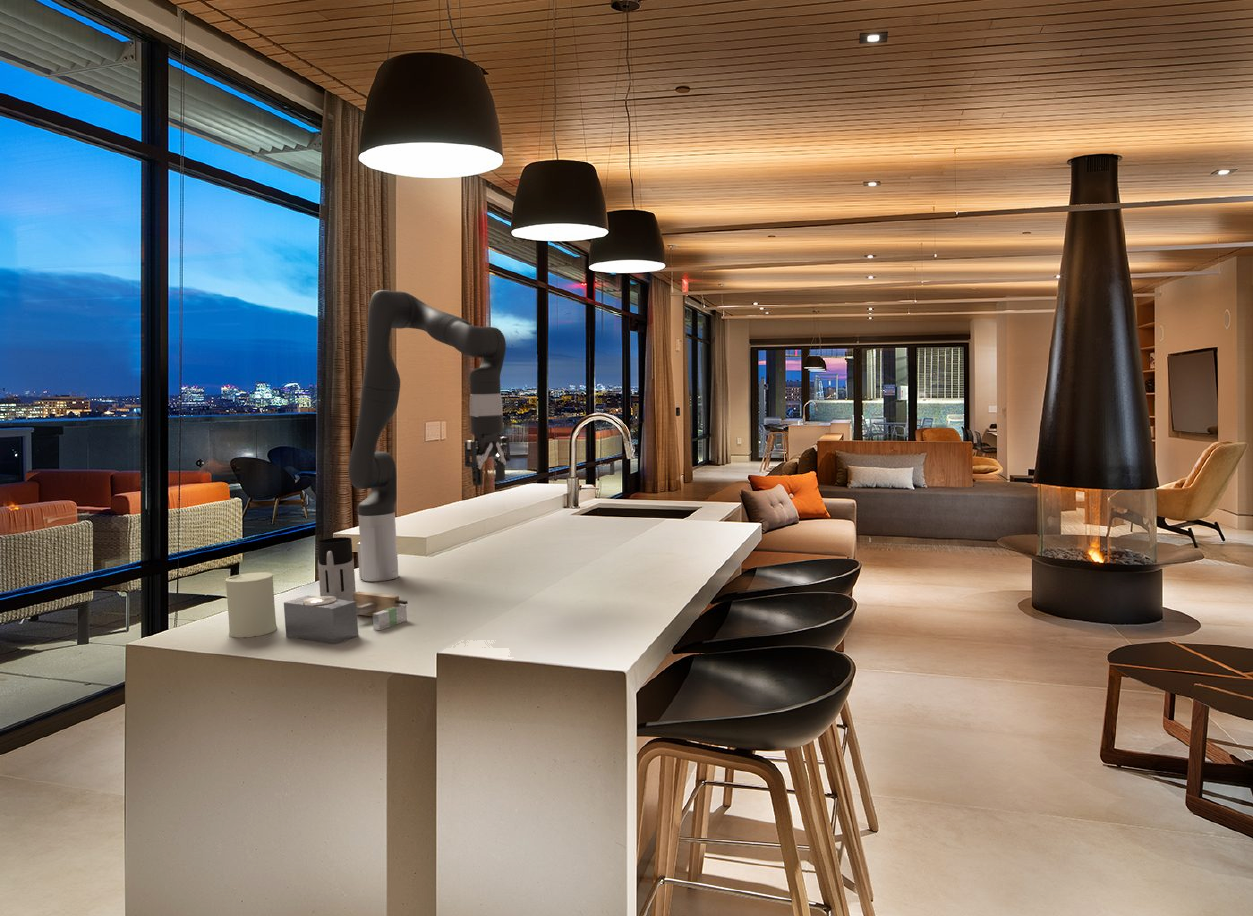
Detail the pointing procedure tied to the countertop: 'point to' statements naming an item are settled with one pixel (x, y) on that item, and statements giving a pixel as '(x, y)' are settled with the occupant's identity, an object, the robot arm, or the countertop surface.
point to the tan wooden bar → (374, 602)
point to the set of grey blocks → (332, 618)
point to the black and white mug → (336, 568)
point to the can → (251, 604)
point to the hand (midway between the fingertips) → (489, 483)
